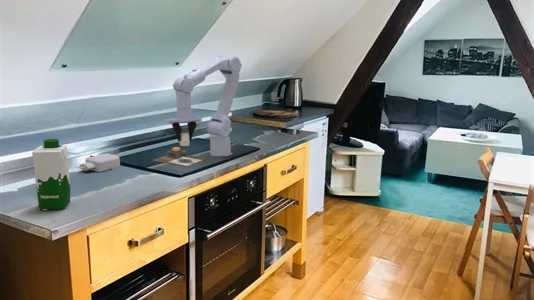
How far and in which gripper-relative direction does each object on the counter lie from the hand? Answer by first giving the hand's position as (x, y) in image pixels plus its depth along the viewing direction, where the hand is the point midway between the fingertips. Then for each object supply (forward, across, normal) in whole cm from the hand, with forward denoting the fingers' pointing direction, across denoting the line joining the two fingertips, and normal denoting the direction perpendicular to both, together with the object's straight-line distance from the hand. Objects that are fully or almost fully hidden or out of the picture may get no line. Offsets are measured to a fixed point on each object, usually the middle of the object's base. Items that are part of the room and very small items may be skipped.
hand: (184, 140), depth 181 cm
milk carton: (+10, +50, +32) cm, 60 cm away
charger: (+10, +34, -4) cm, 36 cm away
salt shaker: (+2, 0, 0) cm, 2 cm away
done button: (+7, +1, -10) cm, 12 cm away
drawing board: (+10, +1, -4) cm, 10 cm away
